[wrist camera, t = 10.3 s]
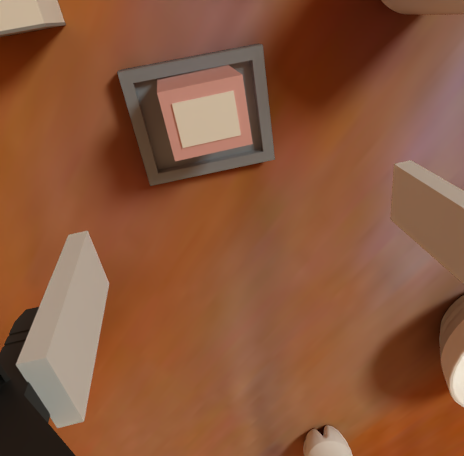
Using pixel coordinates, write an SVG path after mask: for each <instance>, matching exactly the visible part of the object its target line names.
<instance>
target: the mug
mask: <svg viewBox="0 0 464 456" xmlns="http://www.w3.org/2000/svg"><path fill="white" fill-rule="evenodd" d="M381 1H382V2H383V3H384V4H385V5H386V6H387V7H388V8H390V9H391V10H393V11H395V12H397V13H401V14H406V15H451V14H464V0H381Z"/></svg>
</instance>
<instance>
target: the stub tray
mask: <svg viewBox="0 0 464 456" xmlns="http://www.w3.org/2000/svg"><path fill="white" fill-rule="evenodd" d="M224 65H229V66H231V67H232V68H233V69H235V70H236V71H238V72H239V73H241V74H242V75H243V82H244V89H245V95H246V102H247V109H248V115H249V122H250V129H251V135H252V142H253V144H251V145H246V146H242V147H237V148H233V149H228V150H224V151H220V152H215V153H211V154H206V155H202V156H197V157H193V158H188V159H184V160H179V161H175V160H174V156H173V152H172V148H171V144H170V141H169V137H168V133H167V129H166V125H165V121H164V118H163V114H162V110H161V106H160V102H159V99H158V95H157V79H158V78H162V77H168V76H173V75H178V74H183V73H188V72H193V71H198V70H204V69H209V68H214V67H219V66H224ZM117 73H118V77H119V80H120V84H121V87H122V90H123V94H124V97H125V101H126V104H127V108H128V111H129V115H130V118H131V121H132V125H133V128H134V132H135V135H136V139H137V142H138V146H139V149H140V152H141V156H142V159H143V163H144V166H145V170H146V173H147V177H148V180H149V183H150V186H153V185H157V184H162V183H167V182H171V181H176V180H181V179H185V178H190V177H195V176H200V175H204V174H209V173H214V172H218V171H223V170H228V169H232V168H237V167H242V166H247V165H251V164H256V163H261V162H265V161H270V160H275V156H274V147H273V137H272V128H271V118H270V109H269V100H268V90H267V81H266V71H265V62H264V52H263V45H262V44H254V45H249V46H243V47H238V48H233V49H228V50H222V51H217V52H212V53H207V54H201V55H196V56H191V57H186V58H181V59H175V60H170V61H165V62H160V63H154V64H149V65H144V66H139V67H133V68H128V69H123V70H119V71H118V72H117Z"/></svg>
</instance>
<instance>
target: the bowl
mask: <svg viewBox="0 0 464 456" xmlns="http://www.w3.org/2000/svg"><path fill="white" fill-rule="evenodd" d="M439 345H440V358H441V366H442V370H443V374H444V377H445V380H446V383H447V386H448V389H449V392H450V395H451V396H452V398H453V399H454V401H455V402H457V403H458V404H460V405H461V406H462V407H464V295H463V296H461V297H460V298H459V299H457V300H456V301H455V302H454V303H453V304H452V305H451V306H450V307H449V308H448V310H447V311H446V313H445V314H444V316H443V318H442V321H441V325H440V336H439Z"/></svg>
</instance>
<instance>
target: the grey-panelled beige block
mask: <svg viewBox="0 0 464 456" xmlns="http://www.w3.org/2000/svg"><path fill="white" fill-rule="evenodd" d="M64 25H66V24H65V22H64V19H63V16H62V13H61V10H60V7H59V4H58V1H57V0H0V37H3V36H9V35H14V34H20V33H25V32H31V31H36V30H42V29H47V28H53V27H58V26H64Z"/></svg>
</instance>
